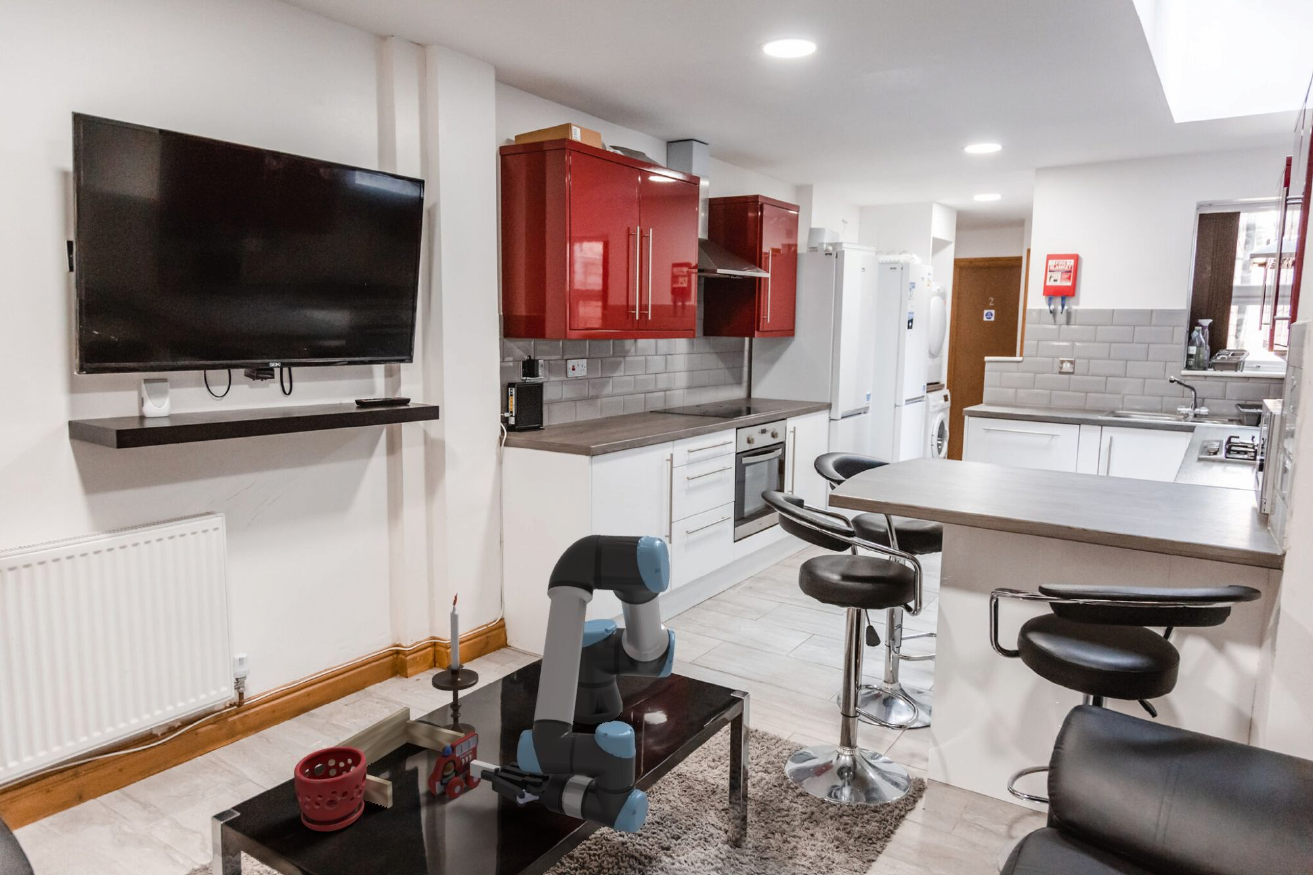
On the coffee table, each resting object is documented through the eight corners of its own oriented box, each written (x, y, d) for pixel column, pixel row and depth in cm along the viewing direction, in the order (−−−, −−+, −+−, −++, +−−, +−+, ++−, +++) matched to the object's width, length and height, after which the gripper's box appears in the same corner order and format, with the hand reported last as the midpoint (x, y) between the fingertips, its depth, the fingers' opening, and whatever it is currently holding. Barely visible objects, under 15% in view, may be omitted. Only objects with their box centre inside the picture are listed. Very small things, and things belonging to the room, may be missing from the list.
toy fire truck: (420, 796, 170) (419, 748, 169) (465, 771, 180) (464, 725, 179) (443, 806, 166) (443, 757, 165) (487, 780, 177) (487, 734, 176)
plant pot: (296, 809, 165) (294, 752, 163) (365, 795, 170) (363, 740, 169) (295, 845, 153) (293, 784, 151) (370, 830, 158) (368, 770, 157)
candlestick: (469, 721, 204) (467, 584, 201) (486, 738, 195) (484, 595, 192) (426, 731, 198) (423, 591, 194) (441, 750, 189) (439, 603, 186)
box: (464, 754, 187) (464, 721, 186) (388, 808, 165) (387, 770, 165) (406, 738, 195) (405, 706, 194) (325, 787, 173) (324, 751, 172)
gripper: (553, 830, 154) (452, 799, 164) (587, 796, 166) (491, 770, 176) (553, 792, 153) (451, 764, 163) (587, 761, 165) (491, 736, 175)
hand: (472, 767), depth 170 cm, fingers closed
